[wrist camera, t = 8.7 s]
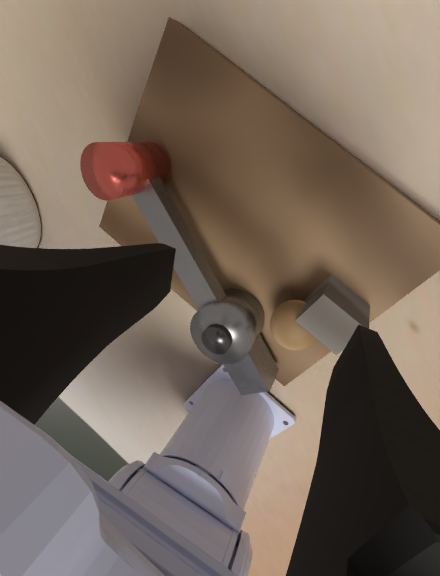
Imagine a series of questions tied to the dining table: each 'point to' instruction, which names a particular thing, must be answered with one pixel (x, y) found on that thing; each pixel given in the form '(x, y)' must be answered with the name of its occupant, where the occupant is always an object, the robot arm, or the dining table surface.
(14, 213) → the ramekin
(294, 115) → the board
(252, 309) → the lever
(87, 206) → the dining table surface
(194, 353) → the dining table surface
